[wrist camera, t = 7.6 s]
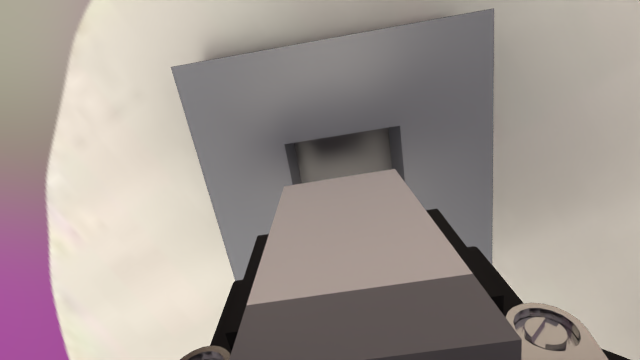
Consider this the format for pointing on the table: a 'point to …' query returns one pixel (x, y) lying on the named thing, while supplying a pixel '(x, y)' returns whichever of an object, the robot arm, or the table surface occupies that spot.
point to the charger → (366, 282)
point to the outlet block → (349, 123)
